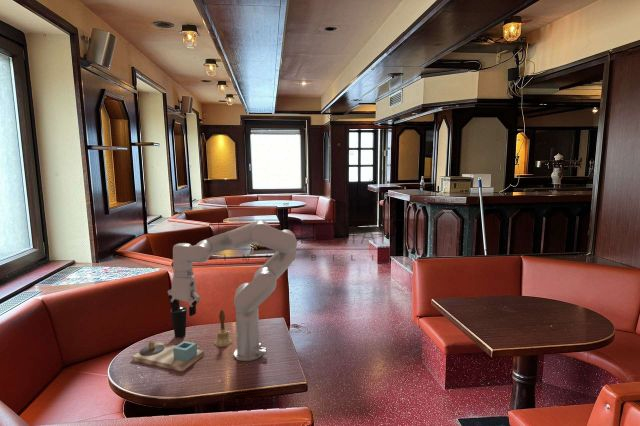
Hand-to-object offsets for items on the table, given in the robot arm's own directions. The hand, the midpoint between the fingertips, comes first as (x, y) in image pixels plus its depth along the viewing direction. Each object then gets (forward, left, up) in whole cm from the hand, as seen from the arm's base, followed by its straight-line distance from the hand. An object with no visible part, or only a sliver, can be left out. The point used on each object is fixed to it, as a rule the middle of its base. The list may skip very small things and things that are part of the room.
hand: (183, 312), depth 157 cm
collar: (-1, +1, -19) cm, 19 cm away
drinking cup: (+18, -18, -21) cm, 33 cm away
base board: (+8, +1, -21) cm, 22 cm away
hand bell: (-6, -19, -21) cm, 29 cm away
